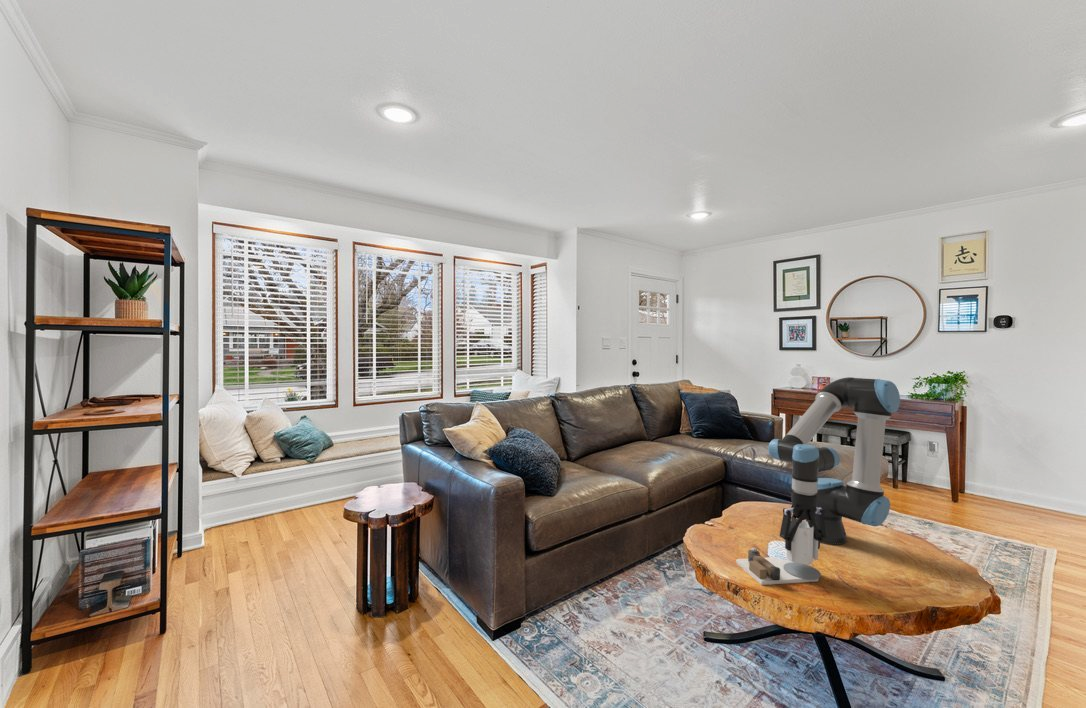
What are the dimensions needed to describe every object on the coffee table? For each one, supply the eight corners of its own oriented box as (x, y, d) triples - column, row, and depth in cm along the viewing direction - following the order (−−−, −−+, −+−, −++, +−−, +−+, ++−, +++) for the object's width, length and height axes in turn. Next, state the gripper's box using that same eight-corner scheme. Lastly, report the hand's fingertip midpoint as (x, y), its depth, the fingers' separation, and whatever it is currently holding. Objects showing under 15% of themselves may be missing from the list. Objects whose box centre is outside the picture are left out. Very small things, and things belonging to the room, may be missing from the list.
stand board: (795, 559, 167) (796, 541, 167) (828, 582, 151) (829, 563, 151) (736, 562, 164) (736, 545, 164) (763, 586, 148) (763, 567, 148)
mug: (820, 570, 149) (822, 534, 149) (791, 567, 151) (793, 531, 150) (808, 554, 160) (809, 520, 160) (781, 551, 162) (782, 517, 162)
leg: (782, 579, 149) (783, 569, 149) (772, 580, 148) (772, 570, 148) (755, 558, 163) (755, 549, 163) (746, 559, 162) (746, 549, 162)
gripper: (824, 487, 160) (822, 552, 161) (768, 488, 157) (766, 555, 158) (841, 494, 153) (838, 562, 153) (782, 496, 150) (780, 565, 150)
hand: (802, 558), depth 156 cm, fingers closed on mug, 8 cm apart
